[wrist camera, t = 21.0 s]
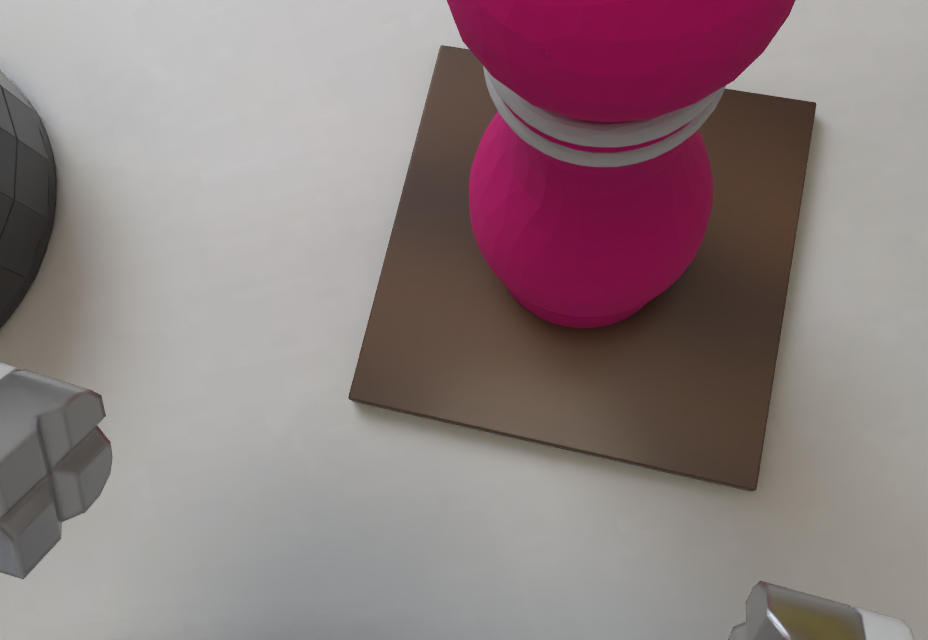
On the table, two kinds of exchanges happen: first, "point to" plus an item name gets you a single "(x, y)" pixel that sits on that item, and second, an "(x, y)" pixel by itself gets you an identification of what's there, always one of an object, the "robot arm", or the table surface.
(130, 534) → the table surface
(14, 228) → the pan
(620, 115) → the pepper mill
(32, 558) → the robot arm
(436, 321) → the trivet
